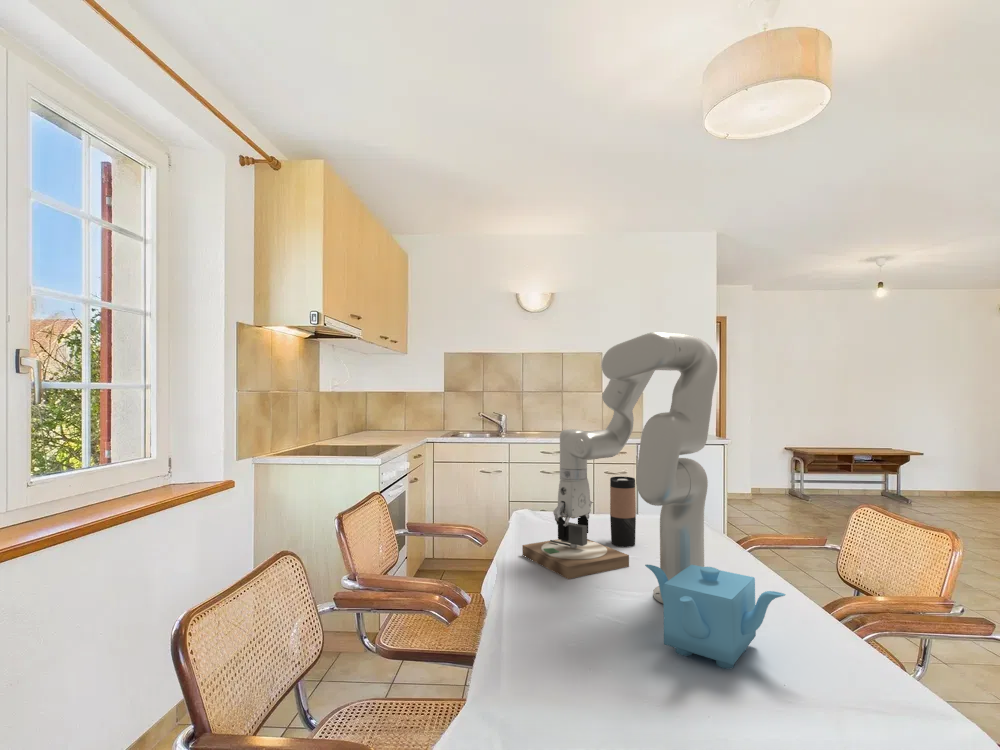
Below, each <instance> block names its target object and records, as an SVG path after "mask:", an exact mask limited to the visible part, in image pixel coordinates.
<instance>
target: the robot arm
mask: <svg viewBox="0 0 1000 750" xmlns="http://www.w3.org/2000/svg"><path fill="white" fill-rule="evenodd" d="M601 371H602V373H603V375H604V376H605V377H606V378H607V379H609V382H608V383H607V385H606V387H605V388H604V391H603V392H602V395H601V398H602V399H601V400H602V401H603V403H604V404H605V405H606V406H607V407H608V408H609V409H610V410H612V411H613V414H612V418H611V420H610V422H609V423H608V425H607V427H606V428H605V429H599V430H598V429H597V430H590V431H589V430H587V431H586V430H583V429H577V428H576V429H575V428H574V429H572V428H571V429H564V430H561V431H560V434H559V484H558V492H557V506H556V508H555V509H553V517H554V521H555V522H556V525H557V539H559V540H564V541H568V540H569V526H567V524H568V522H570V519H577V524H581V525H586V526H587V534H589V519H590V513H591V511H592V510H591V509H592V503H593V501H592V500H591V493H590V484H589V479H588V461H590V460H593V461H594V460H599V459H606V458H607V459H608V458H613V457H615V456H617V455H618V454H620V452H621V451H622V450H623V449H624V447H625V446H626V444H627V442H628V440H629V439H630V438H631V435H632V434H633V429H634V413H633V411H634V408H635V407H636V405H637V403H638V401H639V399H640V397H641V395H642V394H643V392H644V391H645V388H646V387H647V385H648V384H649V382H650V380H651V378H652V376H653V375H654V373H655V371H677V372H679V373H680V375H679V377H678V379H677V381H676V383H675V384H674V387H673V390H672V394H671V404H670V407H669V408H670V409H669V411H668V412H666V411H665V412H659V413H657V414H654V415H652V416H651V417H650V418H649V419H648V420H647V421H646V422H645V425H644V426H643V428H642V431H641V435H640V436H641V437H640V442H639V449H638V460H637V466H636V477H635V484H636V488H637V491H638V494H639V496H640V498H642V500H643V501H644V502H646V503H647V504H649V505H652V506H657V507H659V506H661V508H660V514H659V551H660V552H659V561H660V563H659V568H661V569H662V570H663V571H664V573H665V574H666V576H667V578H668V580H670V579H671V578H673V577H674V576H675V575H677V574H678V573H680V572H681V571H683V570H684V569H686V568H687V567H689V566H690V565H696V566H701V567H705V506H706V499H707V493H708V486H709V485H708V483H709V481H708V476H707V472H706V470H705V468H704V467H703V466H702V465H701V464H700V463H699V462H698V461H696V460H695V459H692V458H688V457H680V456H683V455H690V454H695V453H699V452H700V451H701V450H703V449H704V448H705V445H706V444H707V441H708V435H709V429H710V422H711V413H712V405H713V396H714V390H715V387H716V386H715V385H716V380H717V375H718V360H717V356H716V354H715V352H714V350H713V349H712V347H711V346H710V345H709V344H708V343H707V342H706V341H704V340H703V339H701V338H699V337H697V336H695V335H691V334H686V333H685V334H683V333H676V332H675V333H673V332H665V331H663V332H662V331H654V332H649V333H645V334H641V335H639V336H636V337H634V338H631V339H628V340H625V341H623V342H621V343H618V344H615V345H613V346H612V347H610V348H609V349H608V350H607V351H606V352H605V354H604V355H603V358H602V361H601ZM652 595H653V598H654V599H655V600H656V601H657V602H659V603H661V604H663V600H662V596H661V592H660V587H659V585H658V586H656V587H654V589H653V593H652Z"/></svg>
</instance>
